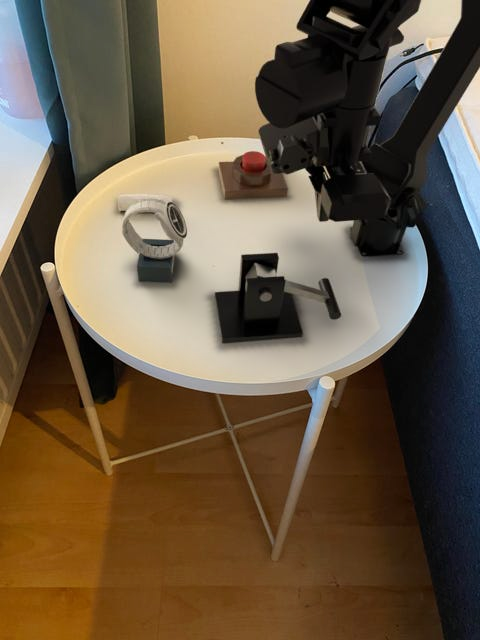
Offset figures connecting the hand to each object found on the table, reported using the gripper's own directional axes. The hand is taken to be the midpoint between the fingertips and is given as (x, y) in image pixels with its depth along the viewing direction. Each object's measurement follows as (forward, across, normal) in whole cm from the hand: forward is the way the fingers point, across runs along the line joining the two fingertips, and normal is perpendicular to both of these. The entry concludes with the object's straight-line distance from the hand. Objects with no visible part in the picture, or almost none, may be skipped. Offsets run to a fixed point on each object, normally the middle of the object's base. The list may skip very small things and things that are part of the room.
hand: (322, 219), depth 67 cm
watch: (+11, -5, -20) cm, 23 cm away
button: (+8, -24, -3) cm, 25 cm away
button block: (+11, -24, -4) cm, 26 cm away
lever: (+7, +5, -5) cm, 10 cm away
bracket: (+11, +5, -8) cm, 15 cm away
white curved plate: (+11, -19, -21) cm, 30 cm away
